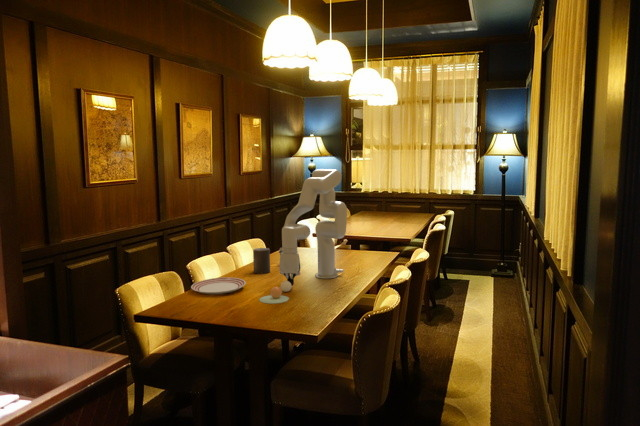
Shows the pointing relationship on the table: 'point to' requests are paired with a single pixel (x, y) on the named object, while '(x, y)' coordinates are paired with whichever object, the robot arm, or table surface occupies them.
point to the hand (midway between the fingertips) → (290, 285)
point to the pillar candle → (261, 260)
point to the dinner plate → (218, 285)
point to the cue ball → (286, 286)
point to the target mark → (273, 299)
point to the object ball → (276, 292)
